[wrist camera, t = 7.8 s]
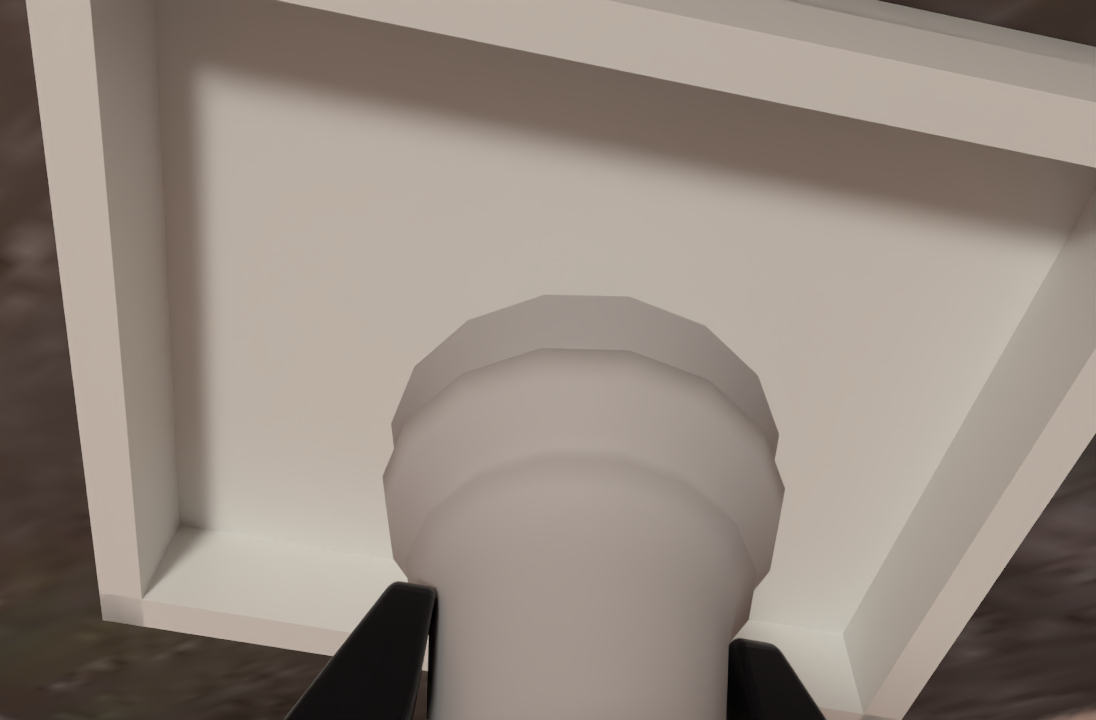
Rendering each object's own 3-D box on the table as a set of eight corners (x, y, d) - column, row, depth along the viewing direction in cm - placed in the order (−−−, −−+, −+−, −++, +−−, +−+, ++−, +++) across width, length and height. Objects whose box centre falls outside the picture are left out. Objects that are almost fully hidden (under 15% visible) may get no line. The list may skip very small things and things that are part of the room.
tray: (1164, 61, 11) (1291, 143, 9) (850, 615, 17) (885, 742, 15) (127, -160, 10) (10, -125, 8) (166, 502, 16) (103, 619, 14)
